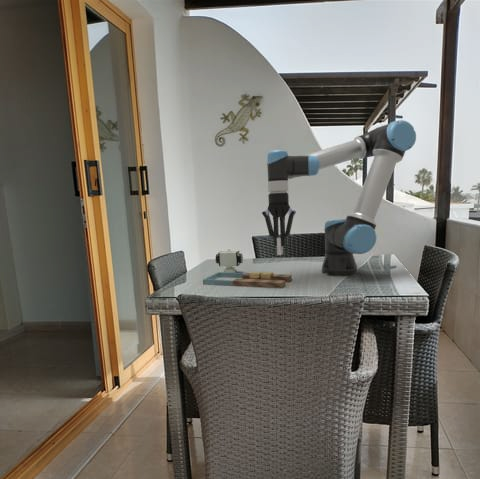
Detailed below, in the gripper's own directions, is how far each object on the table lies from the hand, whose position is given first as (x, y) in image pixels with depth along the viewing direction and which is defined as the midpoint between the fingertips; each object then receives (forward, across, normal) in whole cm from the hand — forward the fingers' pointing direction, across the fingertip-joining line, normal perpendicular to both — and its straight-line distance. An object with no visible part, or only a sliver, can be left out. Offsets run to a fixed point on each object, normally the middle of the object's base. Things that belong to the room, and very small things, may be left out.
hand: (280, 254), depth 136 cm
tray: (+13, +24, 0) cm, 27 cm away
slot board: (+13, +8, 0) cm, 15 cm away
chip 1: (+12, +10, 0) cm, 15 cm away
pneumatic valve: (+13, +28, -15) cm, 35 cm away
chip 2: (+12, +6, 0) cm, 13 cm away
